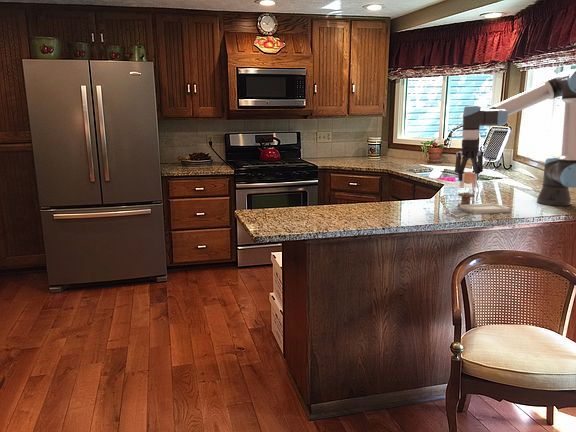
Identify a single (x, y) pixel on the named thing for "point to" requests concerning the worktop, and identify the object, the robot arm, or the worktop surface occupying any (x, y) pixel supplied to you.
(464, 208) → the tray
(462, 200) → the pedestal
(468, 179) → the ball
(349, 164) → the worktop surface
